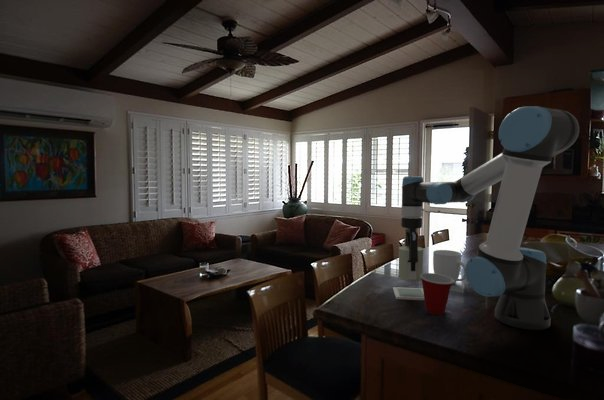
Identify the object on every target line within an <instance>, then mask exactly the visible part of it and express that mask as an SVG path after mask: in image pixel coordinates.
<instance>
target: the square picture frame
mask: <svg viewBox="0 0 604 400" xmlns="http://www.w3.org/2000/svg"><path fill="white" fill-rule="evenodd" d="M392 291H393V294H394V297H395V300H406V301H407V300H409V301H425V300H424V292H423V287H398V286H396V287H395V286H393V287H392Z"/></svg>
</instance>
